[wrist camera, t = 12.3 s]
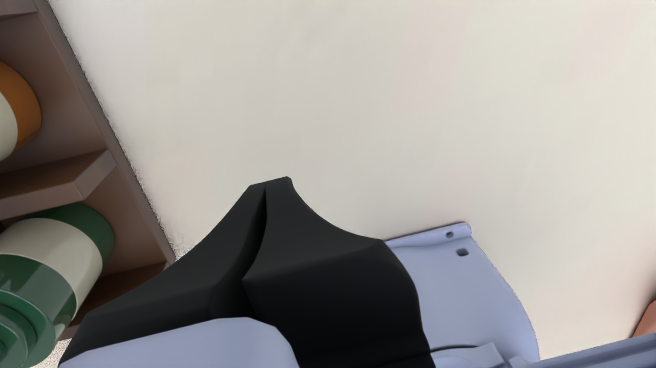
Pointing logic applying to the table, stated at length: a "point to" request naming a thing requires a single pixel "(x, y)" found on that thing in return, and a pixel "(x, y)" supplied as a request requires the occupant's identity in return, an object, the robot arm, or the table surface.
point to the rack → (74, 156)
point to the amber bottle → (16, 112)
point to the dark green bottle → (47, 277)
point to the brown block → (647, 321)
